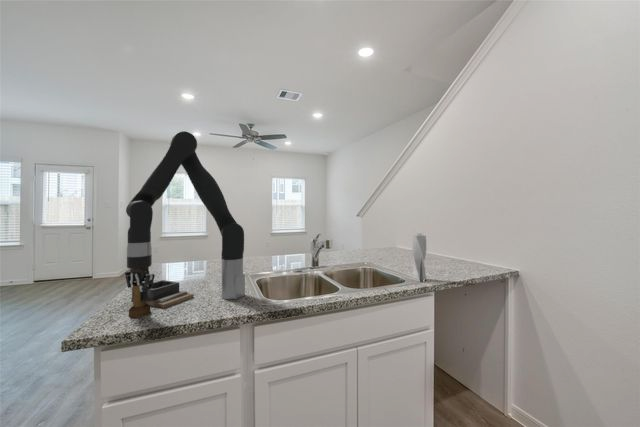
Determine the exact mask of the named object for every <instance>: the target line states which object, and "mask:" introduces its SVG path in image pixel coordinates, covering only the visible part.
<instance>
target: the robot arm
mask: <svg viewBox="0 0 640 427" xmlns="http://www.w3.org/2000/svg"><path fill="white" fill-rule="evenodd" d="M197 148H198V142H197V138H196V136H195V135H194V134H193V133H191V132H188V131H178V132H176V133H175V134H174V135H173V136H172V137H171V140H170V146H169V148H168V149H167V152H166V153H165V155H164V157H163V158H162V160H160V162H159V164H158V165H157V166H156V168H155V169H154V170H153V171H152V172H151V174H150V175H149V176H148V178H147V180H146V181H145V182H144V184H143V185H142V187H141V188H140V190H139V191H138V192H137V193H136V194H135V195H134V197H133V198H132V199H131V200H130V201H129V203H128V204H127V206H126V208H125V209H126V210H125V211H126V212H125V213H126V215H127V216H128V217H129V228H128V230H127V246H126V268H127V269H129V270H130V271H125V273H124V275H125V280H126V284H127V288H128V289H130V290H131V298H132V300H133V285H134V284H137V285H138V286H139V288H140V301H141V302H143V301H146V300H147V291H148V290H149V289H152V285H153V282H155V280H154V279H155V273H152V274H151V273H150V271H149V268H150V267H151V266H152V264H153V263H152V260H153V259H152V256H153V255H152V254H153V251H152V249H153V248H152V242H151V241H152V239H151V238H152V237H151V236H152V232H151V230H152V229H151V227H152V223H153V215H154V214H153V213H154V212H153V206H154V205H155V203H156V202H157V201H158V200H159V199H161V197H162V196H163V195H164V193H165V192H166V190H167V189H168V188H169V185H170V184H171V182H172V180H173V178H174V177H175V175H176V173H177V171H178V170H179V168H180V167H181V166H182V168H183V169H184V171H185V172H186V174H187V177H188V178H189V181H190V182H191V185H192V186H193V189H194V190H195V192H196V193H197V196H198V197H199V199H200V201H201V202H202V203H203V205H204V207H205V208H206V209H207V211H208V212H209V213H210V215H211V216H212V217H213V219H214V221H215V223H216V225H217V227H218V230H219V233H220V235H221V298H222V299H223V300H238V299H240V298H242V297H244V296H246V275H245V274H244V252H245V232H244V227H243V226H241V224H239V223H238V222H237V221H236V220H235V218H234V217H233V215H232V214H231V212H230V210H229V207H228V205H227V201H226V199H225V197H224V194H223V192H222V190H221V187H220V186H219V184H218V183H217V181H216V180H215V178H214V177H213V176H212V174H211V173H210V172H209V171H208V170H207V169H206V168H205V167H204V166H203V164H202V163H201V160H200V159H199V157H198V155H197V152H196V150H197ZM135 269H138V273H135ZM136 279H137V280H136ZM136 281H137V282H136ZM141 282H142V283H141ZM143 284H144V287H143ZM148 284H149V286H148Z"/></svg>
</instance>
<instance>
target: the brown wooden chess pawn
mask: <svg viewBox="0 0 640 427" xmlns="http://www.w3.org/2000/svg"><path fill="white" fill-rule="evenodd" d="M135 273H138V269H135ZM136 280H137V279H136ZM136 282H137V281H136ZM141 283H143V282H141ZM143 287H144V284H143ZM150 313H151V306H150V305H148V304H146V301H143V302H141V301H140V288H139V286H138V285H137V284H134V285H133V301H132V306H131V307H130V308H129V309H128V317H129V318H141V317H144V316H147V315H149V314H150Z"/></svg>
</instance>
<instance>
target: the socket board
mask: <svg viewBox="0 0 640 427" xmlns="http://www.w3.org/2000/svg"><path fill="white" fill-rule="evenodd" d="M148 286H149V284H148ZM130 298H131V299H130V301H131V302H133V300H132V297H130ZM192 298H194V293H190V292H188V291H186V290H182V291H180V282H177V281H171V280H165V279H162V280H157V281H153V285H152V289H149V290H148V291H147V300H146V304H148V305H150V307H155V308H160V309H166V308H168V307H171V306H173V305H176V304H179V303H181V302H184V301H187V300H190V299H192Z"/></svg>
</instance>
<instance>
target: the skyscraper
mask: <svg viewBox="0 0 640 427" xmlns="http://www.w3.org/2000/svg"><path fill="white" fill-rule="evenodd" d="M412 233H413V236H412V244H411V246H412V258H413V268H412V276H411V277H412V278H413V279H417V280H420V282H419V283H424V282H423V280H424V279H426V280H427V275H426V273H427V272H426V266H425V261H426V260H425V259H426V255H427V235H426V233H424V232H423V233H418V232H416V231H415V230H413V231H412ZM412 278H411V279H412Z"/></svg>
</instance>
